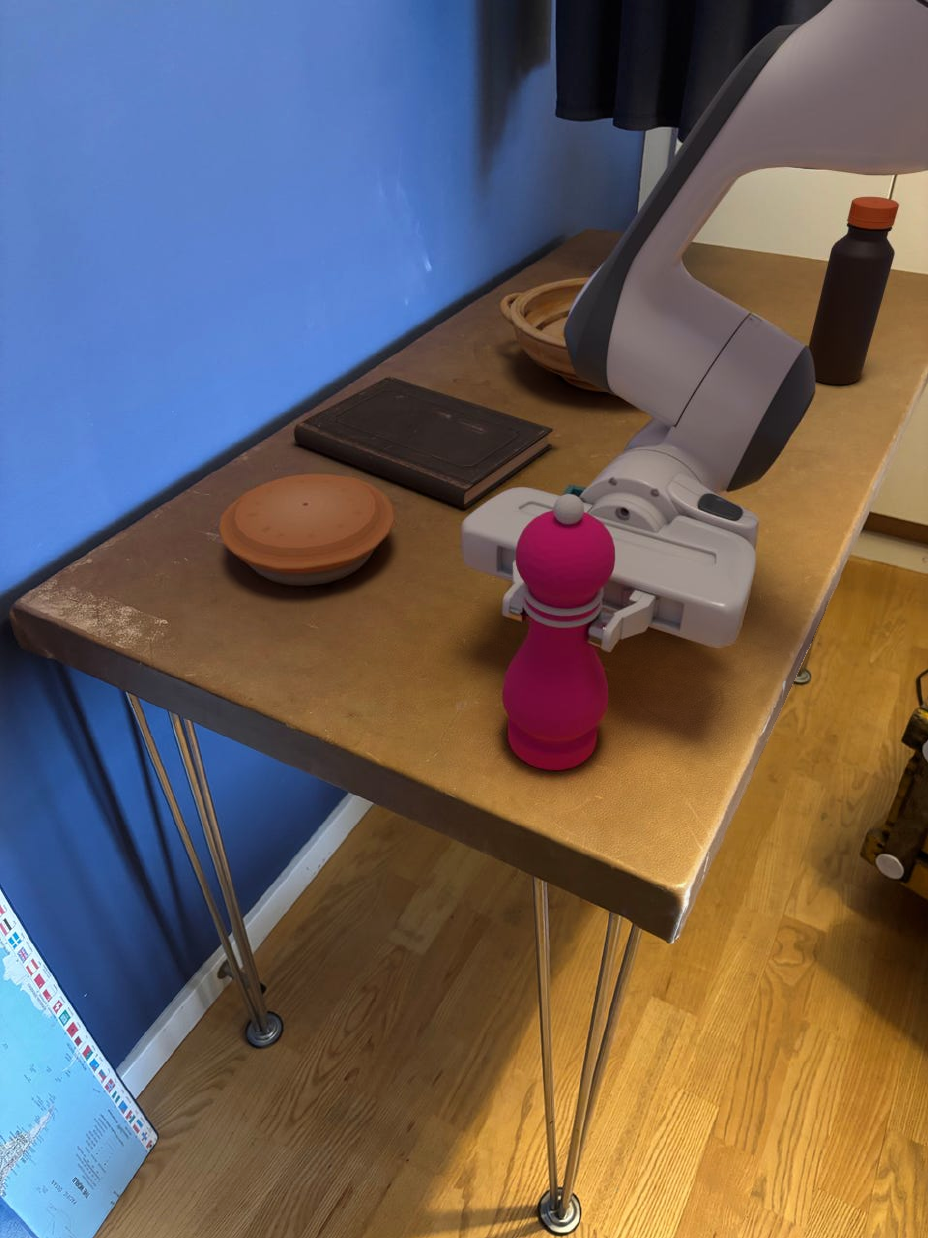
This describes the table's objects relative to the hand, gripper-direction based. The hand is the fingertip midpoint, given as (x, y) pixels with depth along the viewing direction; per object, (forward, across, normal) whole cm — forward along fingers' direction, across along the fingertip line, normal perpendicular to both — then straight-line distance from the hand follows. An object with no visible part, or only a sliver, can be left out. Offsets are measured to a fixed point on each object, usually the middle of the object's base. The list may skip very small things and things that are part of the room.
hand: (554, 625), depth 57 cm
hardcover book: (-33, -31, +11) cm, 47 cm away
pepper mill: (-1, 0, +11) cm, 11 cm away
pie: (-11, -30, +11) cm, 34 cm away
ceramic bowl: (-61, -21, +11) cm, 65 cm away
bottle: (-74, +3, +11) cm, 75 cm away
